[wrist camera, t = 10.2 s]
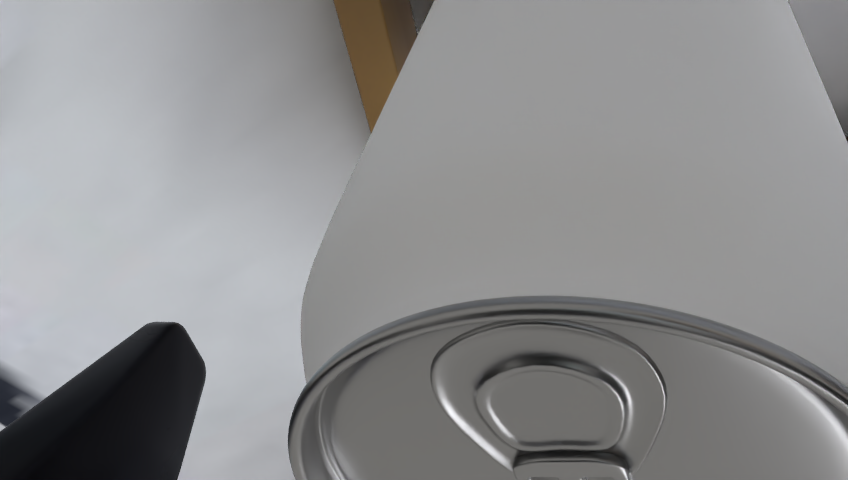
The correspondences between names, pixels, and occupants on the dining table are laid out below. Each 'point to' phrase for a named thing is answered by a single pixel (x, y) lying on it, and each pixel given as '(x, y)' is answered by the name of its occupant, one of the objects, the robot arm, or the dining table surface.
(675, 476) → the can
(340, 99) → the dining table surface
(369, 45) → the brown wooden bent bar
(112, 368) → the robot arm
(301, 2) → the dining table surface
